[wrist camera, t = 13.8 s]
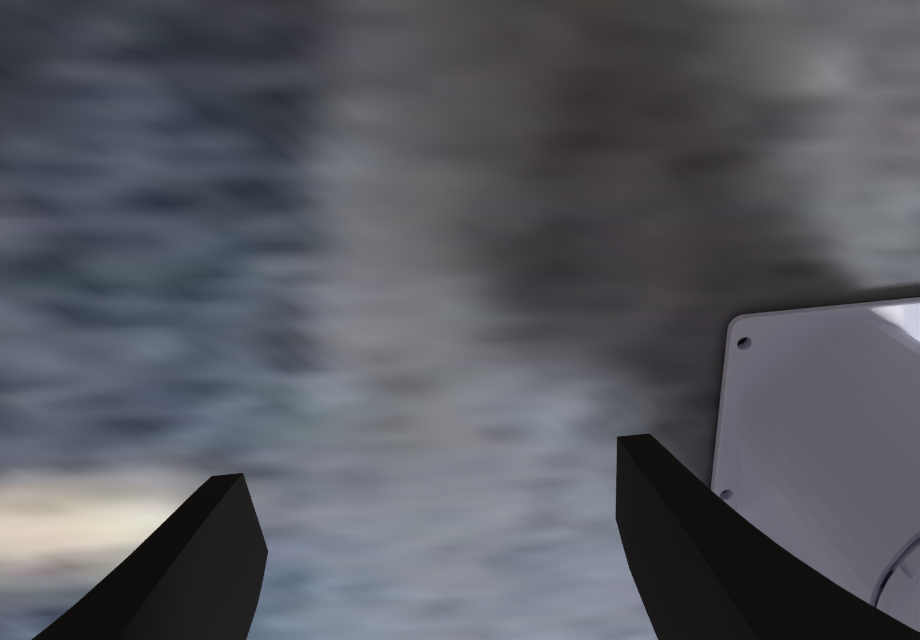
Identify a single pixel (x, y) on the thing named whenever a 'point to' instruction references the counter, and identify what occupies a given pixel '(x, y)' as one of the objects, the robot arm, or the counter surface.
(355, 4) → the counter surface
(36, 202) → the counter surface
